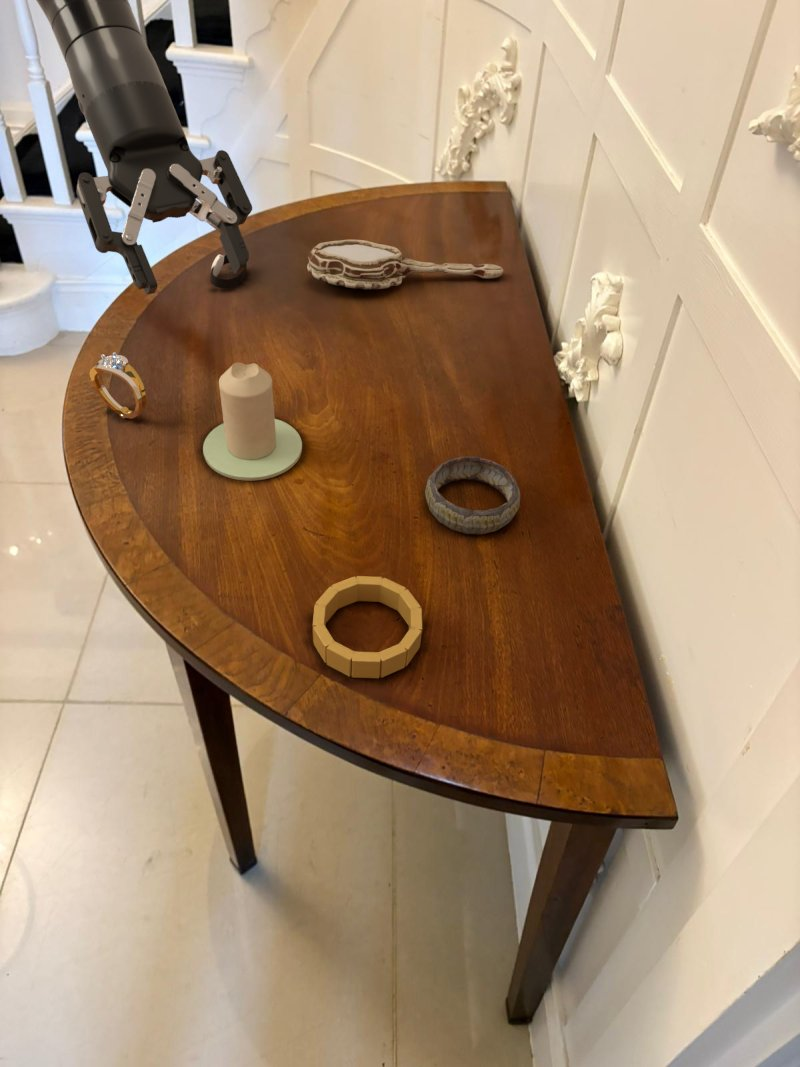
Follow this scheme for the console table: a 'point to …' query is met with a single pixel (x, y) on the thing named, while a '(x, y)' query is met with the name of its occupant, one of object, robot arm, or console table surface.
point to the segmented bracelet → (367, 661)
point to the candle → (248, 411)
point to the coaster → (255, 469)
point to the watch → (216, 270)
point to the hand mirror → (378, 265)
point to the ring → (118, 367)
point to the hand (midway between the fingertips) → (198, 280)
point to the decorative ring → (467, 518)
